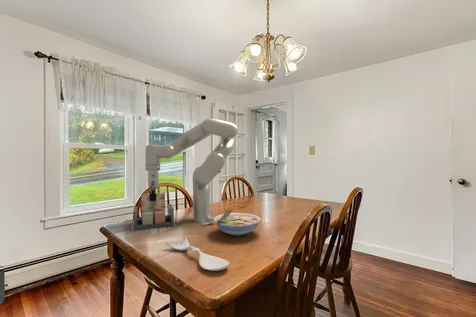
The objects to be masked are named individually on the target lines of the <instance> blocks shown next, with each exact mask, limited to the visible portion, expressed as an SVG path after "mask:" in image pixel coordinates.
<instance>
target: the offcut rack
mask: <svg viewBox="0 0 476 317" xmlns="http://www.w3.org/2000/svg"><path fill="white" fill-rule="evenodd" d="M174 212H175V211H174V207H173V205H172V203H167V214H165V223H157V224H155V218H153V224H148V225H142V219H141V217H138V206H133V214H132V216H133V218H132V219H133V220H132V221H133V222H132V224H131V229H130V230H131V232H136V231H145V230H154V229H163V228H171V227H177V225H176V223H175V219H174V218H175V216H174V215H175V213H174Z"/></svg>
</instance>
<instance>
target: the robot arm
mask: <svg viewBox="0 0 476 317" xmlns="http://www.w3.org/2000/svg"><path fill="white" fill-rule="evenodd" d="M211 135H214V136H218V137H220V141H219V143H218V144H217V145H216V147H215V148H214V149H213V150H212V151H211V152H210V153H209V154H208V155H207V157H206V159H205V161H204V162H202V164H201V165H200V166H198V167H196V168H194V170H193V171H192V222H195V223H199V225H200V226H206V225H210V224H212V223H213V222H214V217H215V216H213V215H212V213H211V188H210V186H211V185H210V184H211V182H212V181H213V179H214V178H216V176H218V174H219V173H220V172H221V170H222V169H223V168H224V166H225V163H226V159H227V157H228V156H229V155H230V154H231V153H232V152H233V150H234V148H235V141H236V139H235V137H236V136H237V135H238V126H237V125H236V124H235V123H232V122H229V121H224V120H220V119H216V118H206V119H204V120H203V121H202V122H200V123H199V124H197V125H195V126H194V127H191V128H190V129H188V130H186V131H185V132H184V133H182V134H181V135H180V136H179V137H178V138H176V140H173V141H172V142H170V143H169V144H147V145H146V146H145V163H144V164H145V166H144V168H145V171H147V186H148V190H149V191H148V193H149V194H150V201H156V193H157V190H159V172H160V171H161V159H172V158H173V157H175V156H176V155H178V154H181V152H183V151H185V150H187V149H188V148H191V147H193V146H195V145H197V144H198V143H200V142H202V141H203V140H205V139H206V138H208V137H209V136H211Z"/></svg>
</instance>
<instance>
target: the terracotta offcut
mask: <svg viewBox="0 0 476 317" xmlns="http://www.w3.org/2000/svg"><path fill="white" fill-rule="evenodd" d="M165 215H166V210H165V211H156V212H155V224H157V223H165Z"/></svg>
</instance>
